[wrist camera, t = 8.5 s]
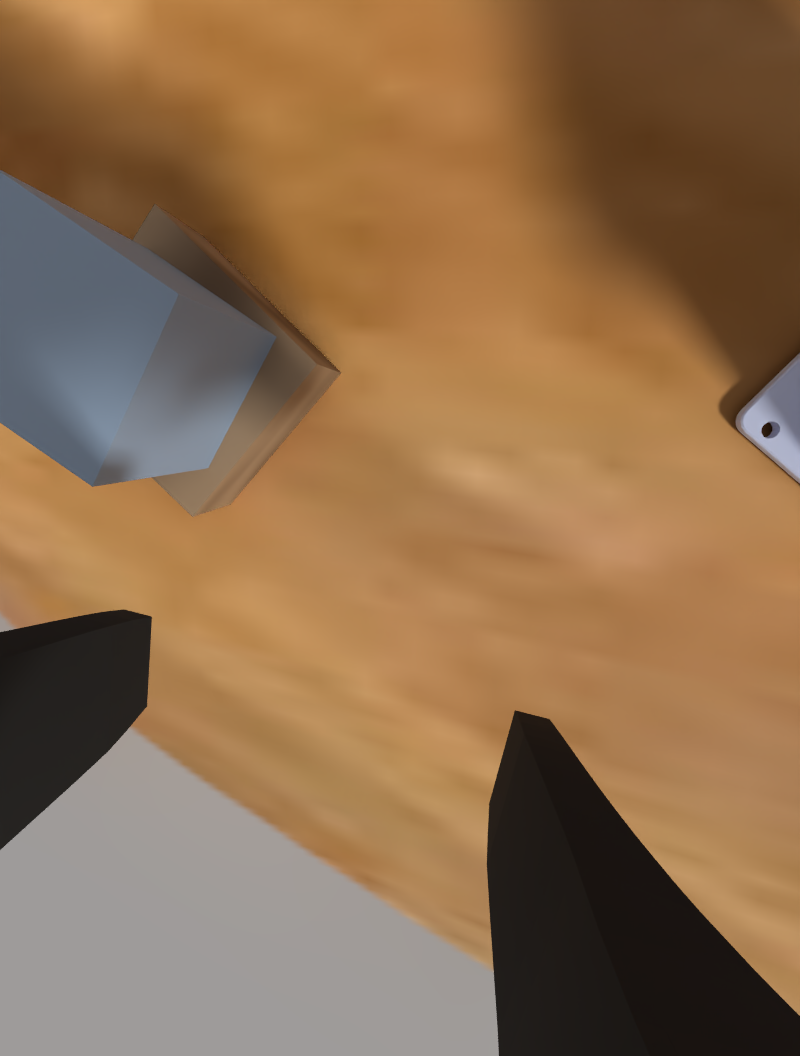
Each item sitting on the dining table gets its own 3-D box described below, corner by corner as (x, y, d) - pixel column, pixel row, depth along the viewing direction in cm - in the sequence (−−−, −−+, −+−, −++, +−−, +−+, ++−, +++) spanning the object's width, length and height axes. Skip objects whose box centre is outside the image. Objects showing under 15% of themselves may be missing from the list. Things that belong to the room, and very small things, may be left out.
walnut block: (343, 373, 18) (316, 364, 15) (235, 502, 19) (192, 516, 17) (209, 240, 17) (154, 203, 14) (112, 383, 19) (47, 376, 16)
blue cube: (276, 337, 15) (178, 293, 10) (208, 467, 16) (92, 486, 11) (147, 248, 15) (-12, 163, 10) (90, 386, 16) (-76, 370, 11)
